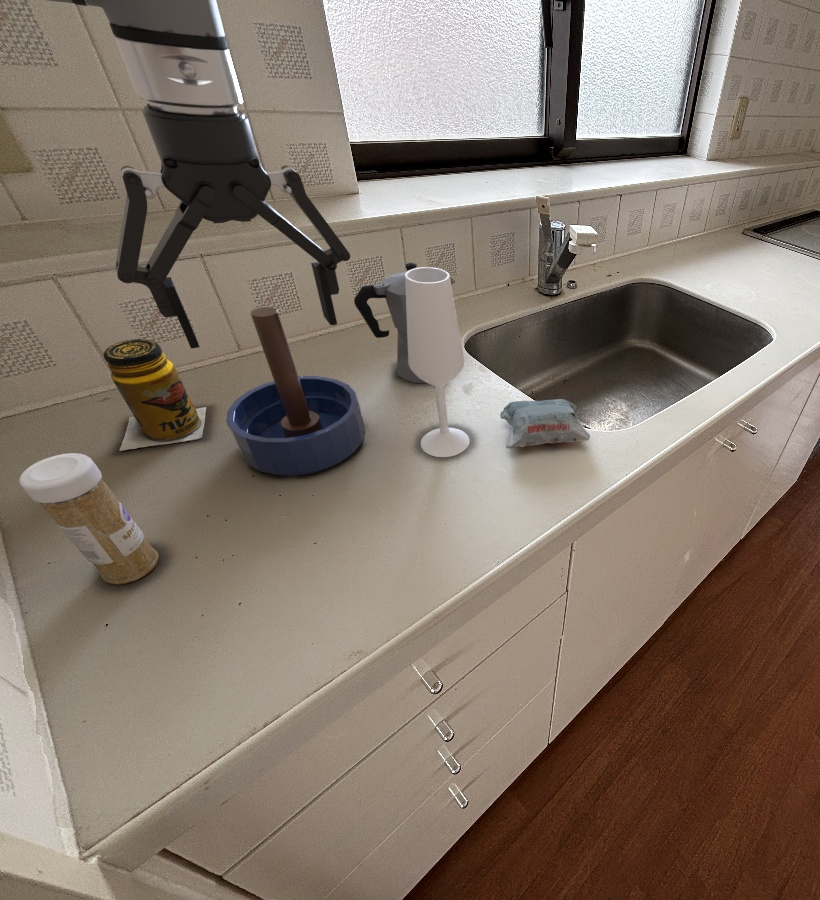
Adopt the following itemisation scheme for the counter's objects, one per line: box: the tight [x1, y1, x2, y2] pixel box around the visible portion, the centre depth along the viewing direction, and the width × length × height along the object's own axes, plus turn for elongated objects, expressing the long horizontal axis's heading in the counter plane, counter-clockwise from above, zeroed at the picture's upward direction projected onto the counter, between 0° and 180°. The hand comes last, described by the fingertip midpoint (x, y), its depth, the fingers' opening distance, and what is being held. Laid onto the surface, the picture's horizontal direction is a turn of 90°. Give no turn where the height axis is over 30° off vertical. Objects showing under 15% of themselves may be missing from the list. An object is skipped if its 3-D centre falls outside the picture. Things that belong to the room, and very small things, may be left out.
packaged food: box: [499, 398, 591, 449], centre depth 72 cm, size 9×12×5 cm
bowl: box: [225, 375, 366, 477], centre depth 65 cm, size 15×15×6 cm
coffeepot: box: [353, 262, 456, 384], centre depth 78 cm, size 15×9×18 cm, turn 129°
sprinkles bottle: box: [18, 452, 160, 585], centre depth 46 cm, size 5×5×13 cm
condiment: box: [103, 338, 207, 452], centre depth 62 cm, size 7×8×12 cm
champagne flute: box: [405, 266, 470, 458], centre depth 63 cm, size 7×7×24 cm
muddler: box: [250, 306, 323, 438], centre depth 61 cm, size 4×4×18 cm
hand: (266, 331), depth 56 cm, fingers open, 13 cm apart
